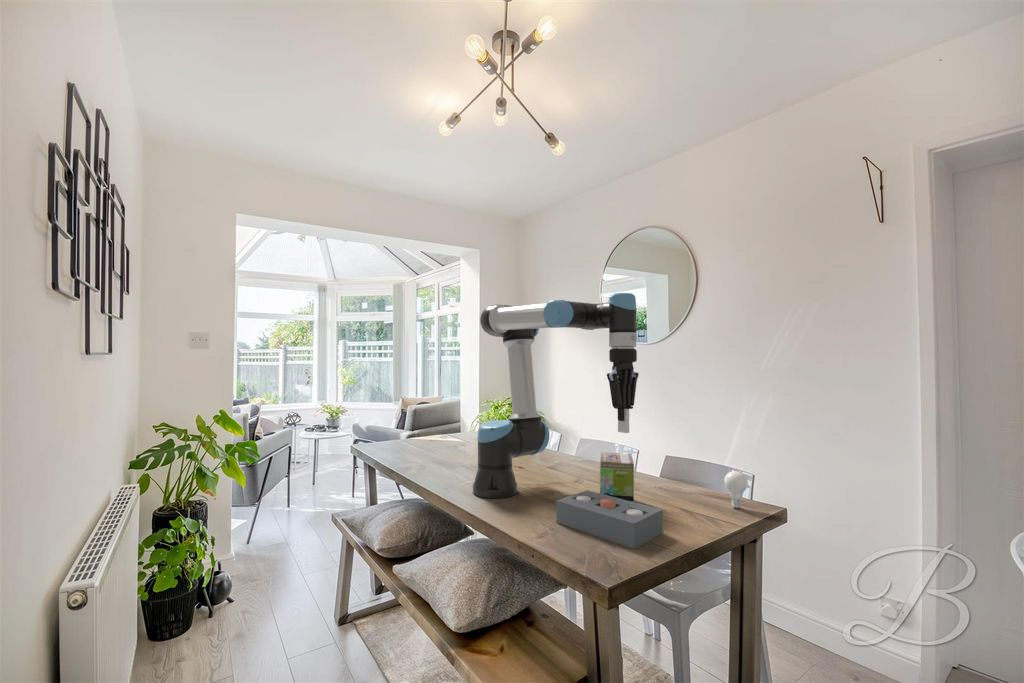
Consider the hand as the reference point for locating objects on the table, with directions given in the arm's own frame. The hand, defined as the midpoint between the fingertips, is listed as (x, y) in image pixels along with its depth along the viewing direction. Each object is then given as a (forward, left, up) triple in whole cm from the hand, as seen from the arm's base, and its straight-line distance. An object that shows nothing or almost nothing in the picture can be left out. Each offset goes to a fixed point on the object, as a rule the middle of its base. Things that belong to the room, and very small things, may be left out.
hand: (623, 432), depth 127 cm
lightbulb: (+18, +33, -25) cm, 45 cm away
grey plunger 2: (+8, -8, -24) cm, 26 cm away
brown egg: (0, -8, -23) cm, 24 cm away
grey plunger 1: (-8, -8, -24) cm, 26 cm away
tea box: (-9, +10, -25) cm, 28 cm away
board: (0, -8, -24) cm, 26 cm away
